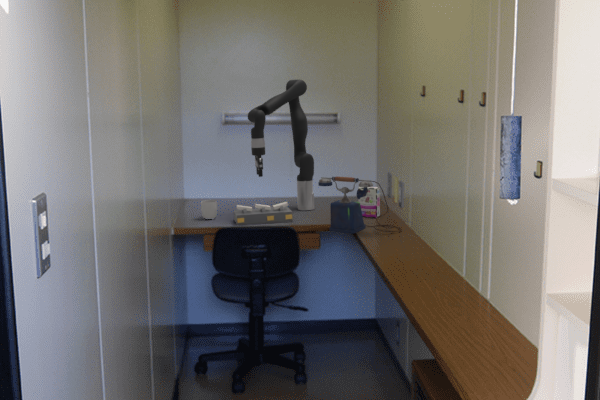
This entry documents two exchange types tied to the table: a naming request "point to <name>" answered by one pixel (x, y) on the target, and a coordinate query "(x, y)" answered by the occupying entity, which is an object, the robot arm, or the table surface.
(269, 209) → the rocker middle
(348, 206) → the rotary telephone
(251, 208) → the rocker
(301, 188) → the robot arm
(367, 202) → the candy bar box
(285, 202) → the plate
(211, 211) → the mug
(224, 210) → the table surface
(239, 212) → the switch unit
